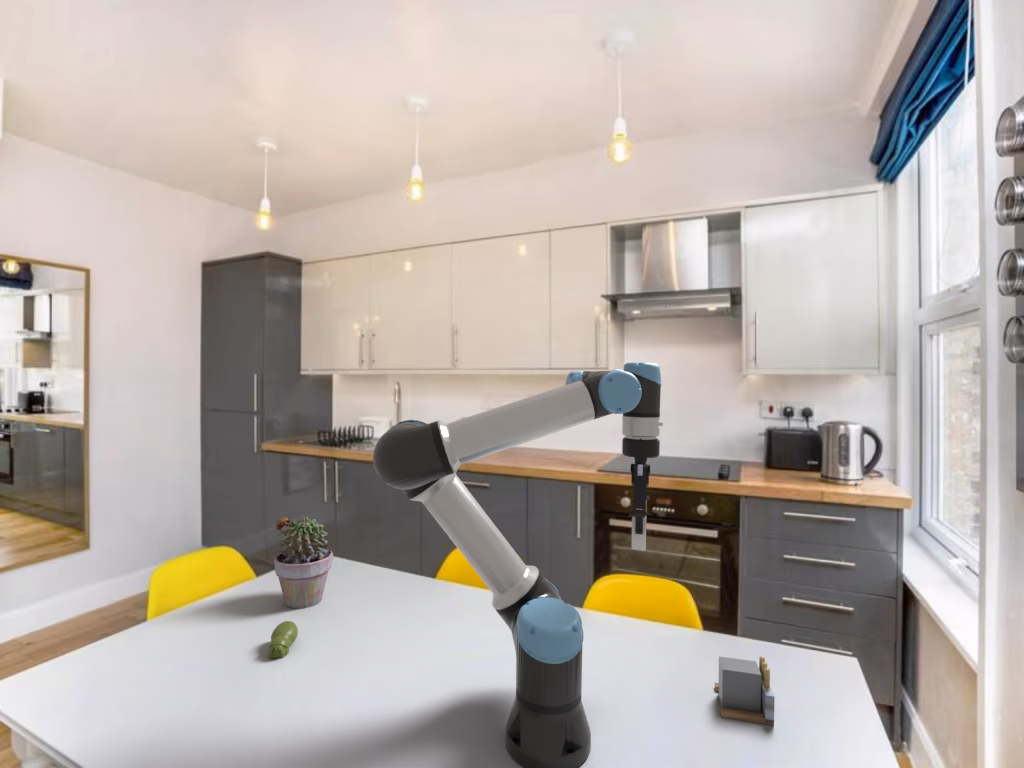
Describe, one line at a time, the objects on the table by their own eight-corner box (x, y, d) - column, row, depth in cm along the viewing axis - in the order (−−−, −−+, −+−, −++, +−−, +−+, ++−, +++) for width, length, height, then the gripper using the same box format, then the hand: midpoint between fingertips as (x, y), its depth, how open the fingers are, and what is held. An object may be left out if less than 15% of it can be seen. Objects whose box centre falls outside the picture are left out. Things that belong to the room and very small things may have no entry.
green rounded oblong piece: (300, 616, 127) (287, 643, 117) (301, 635, 128) (288, 664, 118) (277, 617, 126) (261, 644, 117) (277, 636, 127) (262, 665, 117)
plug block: (760, 715, 100) (761, 674, 100) (722, 709, 102) (722, 669, 102) (755, 700, 105) (755, 661, 105) (718, 694, 107) (718, 656, 107)
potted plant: (354, 595, 153) (355, 511, 153) (296, 621, 136) (297, 526, 136) (315, 582, 162) (316, 502, 162) (256, 604, 146) (257, 516, 146)
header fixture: (773, 725, 97) (774, 678, 97) (721, 716, 100) (722, 670, 100) (762, 694, 107) (763, 651, 107) (714, 687, 109) (715, 644, 109)
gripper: (661, 444, 94) (659, 561, 94) (658, 432, 118) (656, 524, 118) (619, 443, 96) (617, 557, 96) (624, 430, 120) (623, 521, 120)
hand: (639, 539), depth 107 cm, fingers open, 13 cm apart
